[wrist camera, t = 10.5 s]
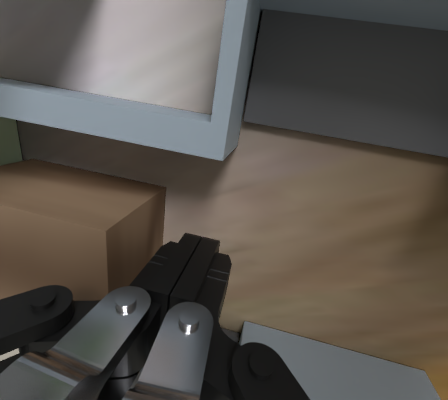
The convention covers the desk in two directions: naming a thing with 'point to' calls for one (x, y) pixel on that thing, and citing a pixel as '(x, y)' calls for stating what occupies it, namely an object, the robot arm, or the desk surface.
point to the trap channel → (290, 126)
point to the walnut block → (75, 229)
